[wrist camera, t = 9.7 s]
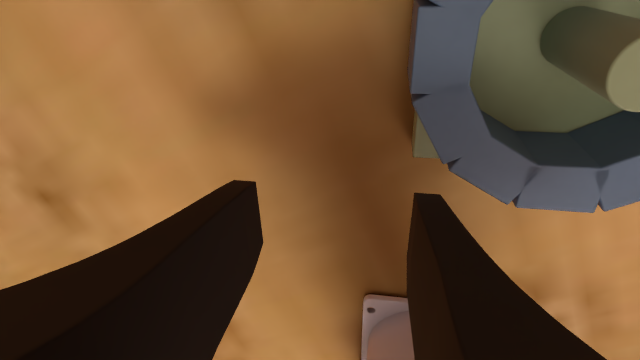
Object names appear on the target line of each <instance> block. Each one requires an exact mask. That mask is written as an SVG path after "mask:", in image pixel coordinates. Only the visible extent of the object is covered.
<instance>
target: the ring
mask: <svg viewBox="0 0 640 360" xmlns="http://www.w3.org/2000/svg"><path fill="white" fill-rule="evenodd" d="M492 2H493V0H414V1H413V13H412V24H411V35H410V47H409V58H408V69H407V70H408V79H409V89H410V93H411V99H412V104H413V106H414V108H415V110H416V112H417V114H418V116H419V118H420V120H421V122H422V124H423V126H424V128H425V130H426V132H427V134H428V136H429V138H430V140H431V142H432V144H433V146H434V148H435V150H436V152H437V154H438V156H439V158H440V160H441V162H442V164H446V163H447V165H448V169H449V171H451V172H452V173H454V174H456V175H457V176H459V177H461V178H463V179H464V180H466V181H468V182H469V183H471V184H473V185H474V186H476V187H478V188H479V189H481V190H483V191H485V192H486V193H488V194H490V195H491V196H493V197H495V198H496V199H498V200H500V201H501V202H503V203H505V204H509V203H510V202H511V201H513V203H514V205H515V207H517V208H530V209H545V210H559V211H573V212H588V213H594V212H595V209H596V207H597V204H598V205H599V206H600V207H601V209H602V210H603V211H608V210H612V209H615V208H618V207H622V206H625V205H628V204H631V203H635V202H638V201H640V112H630V111H626V110H624V111H622V112H619V113H617V114H614V115H612V116H609V117H607V118H604V119H601V120H599V121H596V122H594V123H591V124H589V125H586V126H584V127H581V128H578V129H576V130H573V131H571V132H568V133H553V132H527V131H514V130H512V129H511V128H509V127H508V126H506V125H504V124H503V123H501V122H499V121H498V120H496V119H495V118H493V117H491V116H490V115H488V114H487V113H485V112H483V111H482V110H480V108H479V106H478V103H477V101H476V99H475V96H474V94H473V92H472V90H471V87H470V85H469V84H470V78H471V72H472V66H473V61H474V55H475V49H476V43H477V37H478V32H479V26H480V20H481V17H482V15H483V14H484V13H485V11H486V10H487V9H488V7H489V6H490V4H491V3H492Z"/></svg>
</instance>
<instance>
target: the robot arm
mask: <svg viewBox="0 0 640 360" xmlns="http://www.w3.org/2000/svg"><path fill="white" fill-rule="evenodd" d="M262 245H263V236H262V228H261V220H260V212H259V204H258V196H257V188H256V182H253V181H239V180H233V181H231V182H229V183H227V184H225V185H223V186H222V187H220V188H218V189H216V190H215V191H213V192H211V193H210V194H208V195H206V196H204V197H203V198H201V199H199V200H198V201H196V202H194V203H193V204H191V205H189V206H188V207H186V208H184V209H183V210H181V211H179V212H177V213H176V214H174V215H172V216H171V217H169V218H167V219H165V220H163V221H161V222H159V223H158V224H156V225H154V226H152V227H150V228H148V229H147V230H145V231H143V232H141V233H139V234H137V235H135V236H133V237H131V238H129V239H127V240H125V241H123V242H121V243H119V244H117V245H115V246H113V247H111V248H108V249H106V250H104V251H102V252H99V253H97V254H95V255H93V256H90V257H88V258H86V259H83V260H81V261H79V262H76V263H74V264H71V265H68V266H66V267H63V268H60V269H58V270H55V271H52V272H50V273H47V274H44V275H42V276H39V277H37V278H34V279H31V280H29V281H26V282H23V283H20V284H17V285H14V286H11V287H8V288H5V289H2V290H0V360H212V359H213V356H214V354H215V352H216V350H217V347H218V345H219V343H220V341H221V339H222V337H223V335H224V333H225V331H226V329H227V327H228V325H229V323H230V321H231V319H232V317H233V315H234V313H235V311H236V309H237V307H238V305H239V302H240V300H241V298H242V296H243V294H244V292H245V290H246V288H247V286H248V284H249V282H250V280H251V277H252V275H253V273H254V270H255V267H256V264H257V261H258V258H259V255H260V251H261V248H262ZM369 307H372V308H369ZM361 360H607V359H605V358H604V357H603V356H601V355H600V354H599V353H597V352H596V351H595V350H594V349H592V348H591V347H590V346H588V345H587V344H586V343H584V342H583V341H582V340H581V339H579V338H578V337H577V336H575V335H574V334H573V333H572V332H570V331H569V330H568V329H566V328H565V327H564V326H563V325H562V324H560V323H559V322H558V321H557V320H556V319H554V318H553V317H552V316H551V315H550V314H548V313H547V312H546V311H545V310H544V309H543V308H542V307H541V306H539V305H538V304H537V303H536V302H535V301H534V300H533V299H532V298H530V297H529V296H528V295H527V294H526V293H525V292H524V291H523V290H522V289H520V288H519V287H518V286H517V285H516V284H515V283H514V282H513V281H512V280H511V279H510V278H509V277H508V276H507V275H506V274H505V273H504V272H503V271H502V270H501V269H500V268H499V266H498V265H497V264H496V263H495V262H494V261H493V260H492V259H491V258H490V257H489V256H488V254H487V253H486V252H485V251H484V250H483V249H482V247H481V246H480V245H479V244H478V243H477V242H476V240H475V239H474V238H473V237H472V236H471V234H470V233H469V232H468V231H467V229H466V228H465V227H464V226H463V224H462V223H461V222H460V220H459V219H458V218H457V216H456V215H455V214H454V212H453V211H452V210H451V208H450V207H449V206H448V204H447V203H446V201H445V200H444V199H443V198H442V196H441V195H439V194H424V193H414V200H413V208H412V217H411V225H410V233H409V242H408V250H407V298H401V297H391V296H382V295H373V294H369V295H366V296H365V297H364V299H363V322H362V351H361Z"/></svg>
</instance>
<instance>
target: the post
mask: <svg viewBox="0 0 640 360" xmlns="http://www.w3.org/2000/svg"><path fill="white" fill-rule="evenodd" d="M469 85H470V87H471V90H472V92H473V94H474V96H475V99H476V101H477V103H478V106H479V108H480V110H482V111H483V112H485V113H487V114H488V115H490V116H491V117H493V118H495V119H496V120H498V121H499V122H501V123H503V124H504V125H506V126H508V127H509V128H511V129H512V130H514V131H527V132H553V133H568V132H571V131H573V130H576V129H578V128H581V127H584V126H586V125H589V124H591V123H594V122H596V121H599V120H601V119H604V118H607V117H609V116H612V115H614V114H617V113H619V112H622V111H624V110H626V111H630V112H640V0H493V2H492V3H491V4H490V6H489V7H488V9H487V10H486V11H485V13H484V14H483V15H482V17H481V20H480V26H479V32H478V37H477V43H476V49H475V55H474V61H473V66H472V72H471V78H470V84H469ZM412 153H413V157H420V158H439V156H438V154H437V152H436V150H435V148H434V146H433V144H432V142H431V140H430V138H429V136H428V134H427V132H426V130H425V128H424V126H423V124H422V122H421V120H420V118H419V116H418V114H417V112H416V110H415V113H414V124H413V134H412Z"/></svg>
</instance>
